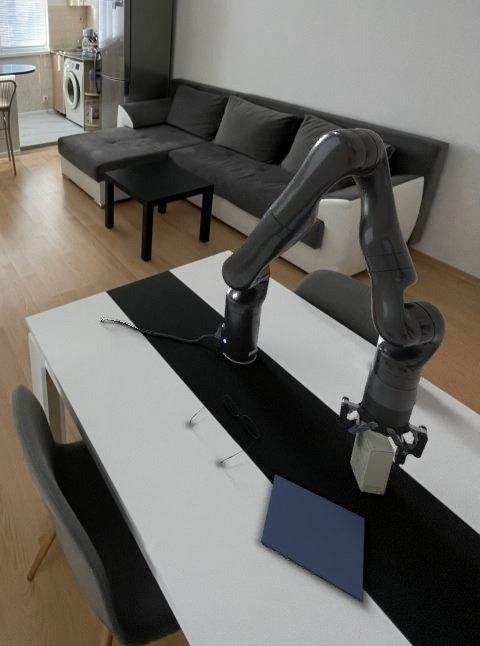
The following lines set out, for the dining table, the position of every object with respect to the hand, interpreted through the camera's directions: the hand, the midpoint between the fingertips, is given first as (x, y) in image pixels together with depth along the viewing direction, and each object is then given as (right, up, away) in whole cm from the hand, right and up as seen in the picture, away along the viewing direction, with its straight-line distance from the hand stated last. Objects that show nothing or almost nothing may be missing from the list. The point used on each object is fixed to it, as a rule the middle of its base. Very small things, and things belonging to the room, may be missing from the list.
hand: (373, 452), depth 86 cm
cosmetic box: (0, -8, +3) cm, 8 cm away
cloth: (-15, -12, -5) cm, 20 cm away
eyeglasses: (-26, -5, +14) cm, 30 cm away
